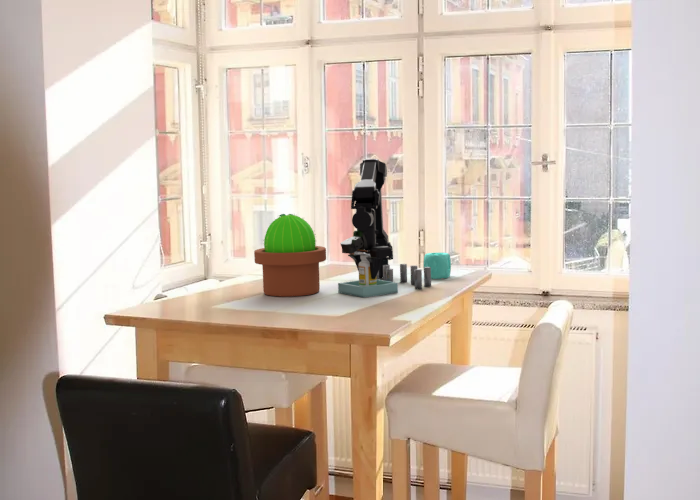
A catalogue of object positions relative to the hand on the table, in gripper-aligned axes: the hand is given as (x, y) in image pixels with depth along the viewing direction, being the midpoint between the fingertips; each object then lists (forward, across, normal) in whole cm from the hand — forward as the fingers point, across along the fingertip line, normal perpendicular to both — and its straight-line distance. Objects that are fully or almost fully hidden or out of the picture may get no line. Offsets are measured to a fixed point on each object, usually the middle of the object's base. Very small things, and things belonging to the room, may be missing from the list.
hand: (367, 278), depth 271 cm
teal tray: (+4, 0, 0) cm, 5 cm away
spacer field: (+5, -2, +15) cm, 16 cm away
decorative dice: (+5, -9, +36) cm, 38 cm away
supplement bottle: (+3, 0, 0) cm, 3 cm away
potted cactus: (+5, -17, -17) cm, 25 cm away
